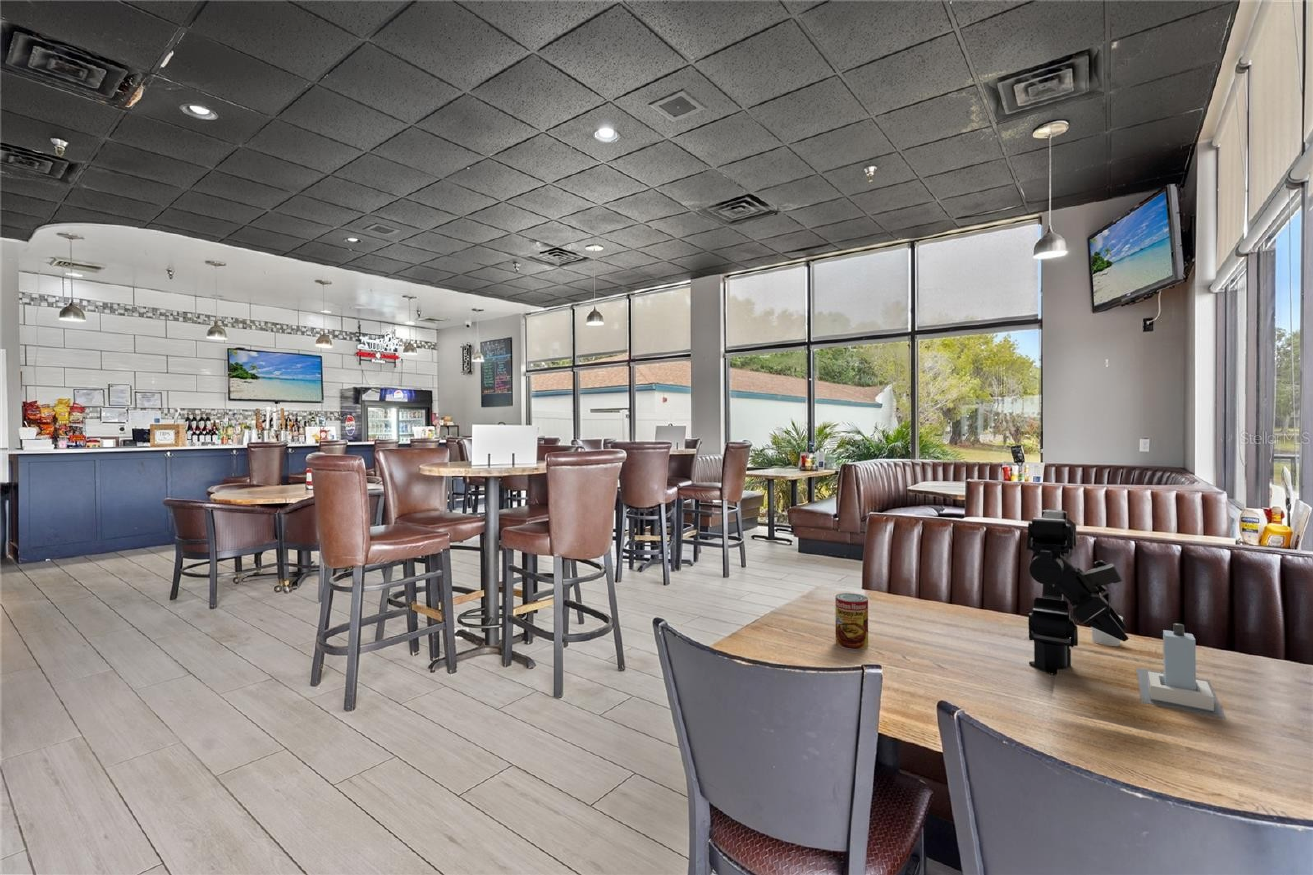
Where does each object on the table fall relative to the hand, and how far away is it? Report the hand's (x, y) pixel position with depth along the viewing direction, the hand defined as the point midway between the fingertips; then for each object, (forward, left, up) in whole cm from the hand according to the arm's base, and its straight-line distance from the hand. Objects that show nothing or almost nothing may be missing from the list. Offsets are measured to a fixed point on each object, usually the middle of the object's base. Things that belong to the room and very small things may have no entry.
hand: (1125, 634), depth 123 cm
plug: (+5, -6, -10) cm, 13 cm away
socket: (+5, -6, -11) cm, 14 cm away
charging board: (+9, -3, -12) cm, 15 cm away
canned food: (-42, +36, -12) cm, 56 cm away
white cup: (+23, +28, -12) cm, 38 cm away
